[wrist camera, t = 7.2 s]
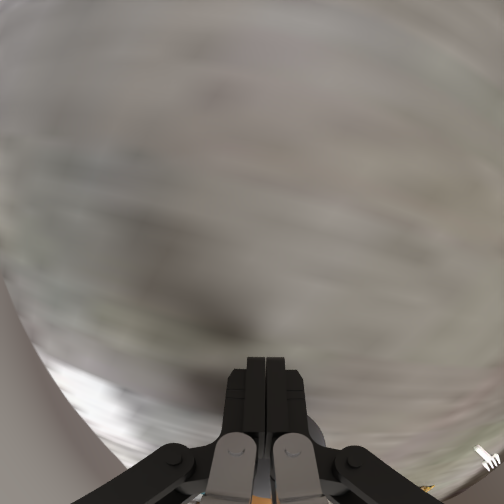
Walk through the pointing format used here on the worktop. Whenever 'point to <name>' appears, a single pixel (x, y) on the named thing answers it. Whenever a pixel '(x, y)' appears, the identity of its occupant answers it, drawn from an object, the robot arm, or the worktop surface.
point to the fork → (486, 456)
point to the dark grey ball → (263, 467)
